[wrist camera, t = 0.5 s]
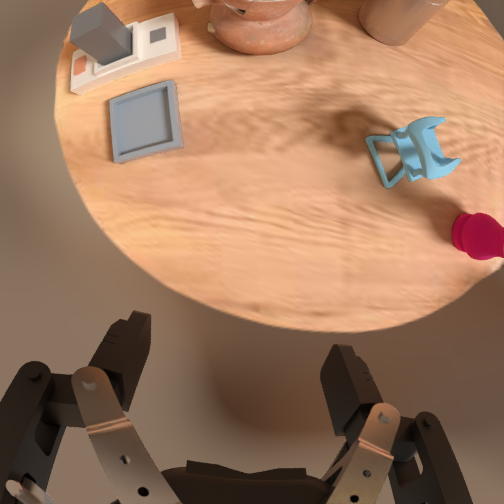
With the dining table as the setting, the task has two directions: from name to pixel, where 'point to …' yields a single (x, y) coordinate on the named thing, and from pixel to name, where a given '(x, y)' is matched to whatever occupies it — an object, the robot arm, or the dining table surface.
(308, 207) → the dining table surface
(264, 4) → the ceramic jug
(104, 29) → the block
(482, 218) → the pepper mill
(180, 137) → the tray
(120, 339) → the robot arm
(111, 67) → the white rectangular base
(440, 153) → the chair
